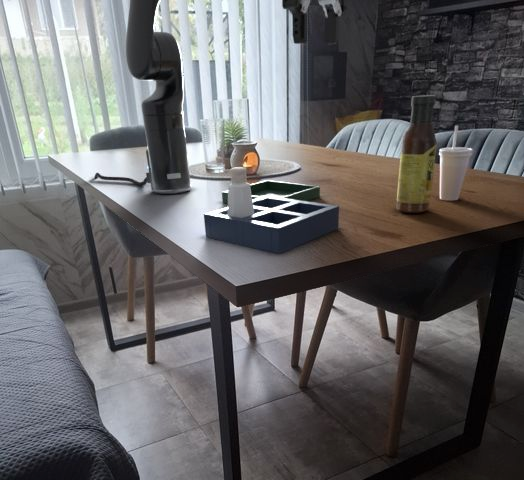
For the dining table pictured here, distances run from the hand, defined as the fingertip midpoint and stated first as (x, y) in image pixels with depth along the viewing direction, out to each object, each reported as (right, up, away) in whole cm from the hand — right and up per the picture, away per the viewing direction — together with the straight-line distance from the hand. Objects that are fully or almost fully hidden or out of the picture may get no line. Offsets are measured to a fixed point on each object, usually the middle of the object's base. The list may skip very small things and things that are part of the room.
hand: (316, 43), depth 79 cm
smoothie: (+30, -19, +22) cm, 42 cm away
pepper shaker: (-12, -30, +5) cm, 33 cm away
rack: (-7, -30, +5) cm, 31 cm away
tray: (-7, -17, +28) cm, 33 cm away
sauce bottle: (+20, -23, +15) cm, 34 cm away
